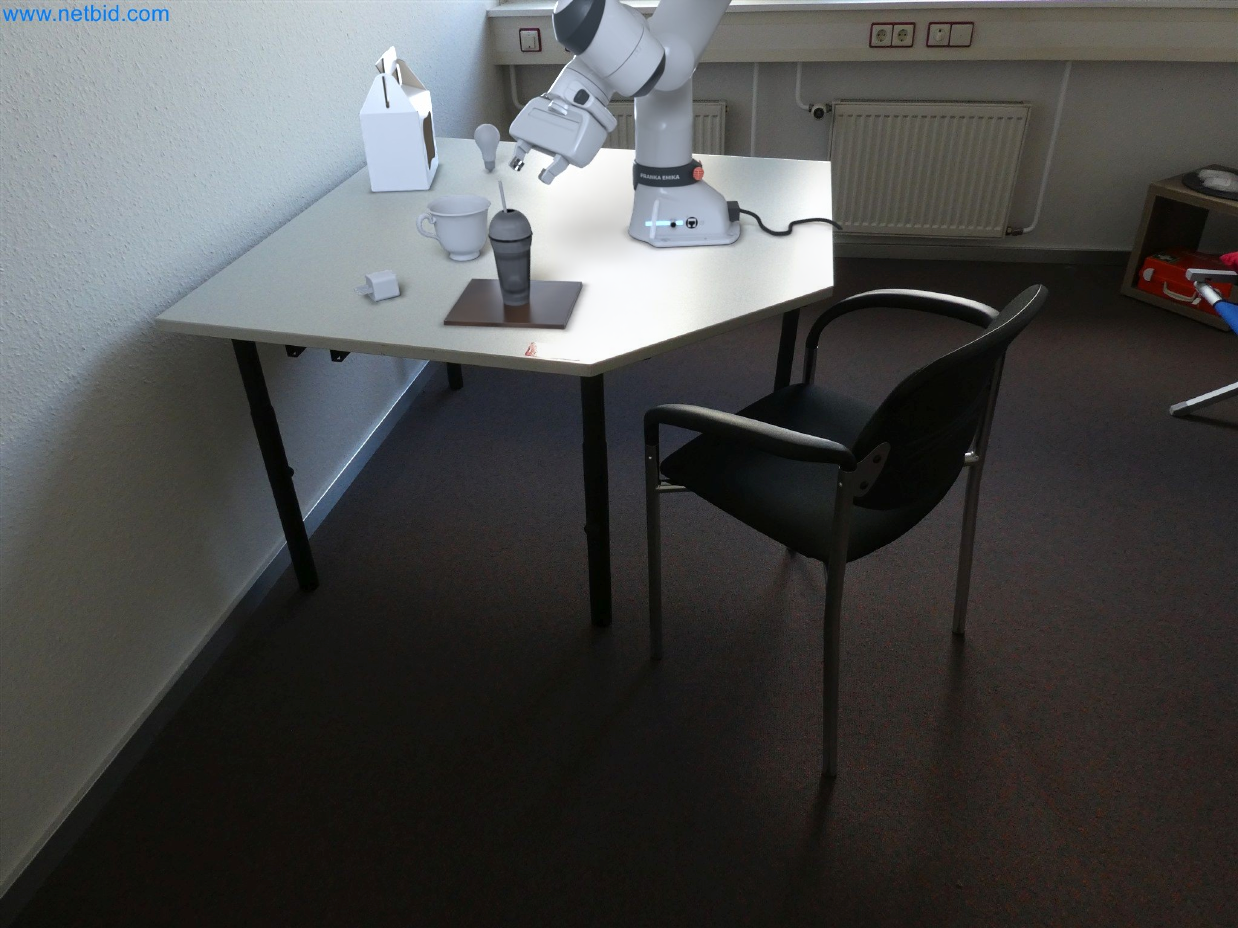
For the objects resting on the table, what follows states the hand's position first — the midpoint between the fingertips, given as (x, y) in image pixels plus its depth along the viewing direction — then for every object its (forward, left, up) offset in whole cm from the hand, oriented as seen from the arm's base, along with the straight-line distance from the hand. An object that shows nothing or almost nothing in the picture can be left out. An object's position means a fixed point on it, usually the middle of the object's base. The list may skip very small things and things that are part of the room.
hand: (527, 175), depth 145 cm
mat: (+3, +4, -21) cm, 21 cm away
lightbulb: (+27, -75, -21) cm, 83 cm away
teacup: (+19, -17, -21) cm, 33 cm away
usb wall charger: (+28, +3, -21) cm, 35 cm away
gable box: (+46, -68, -21) cm, 85 cm away
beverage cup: (+3, +4, -20) cm, 21 cm away
